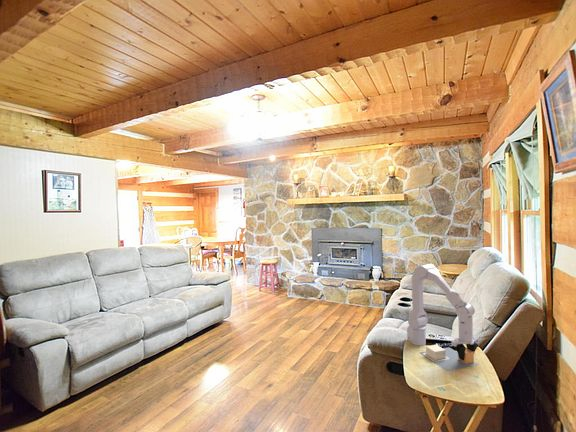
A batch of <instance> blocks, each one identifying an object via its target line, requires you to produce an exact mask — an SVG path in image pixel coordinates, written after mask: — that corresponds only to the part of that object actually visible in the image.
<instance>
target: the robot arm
mask: <svg viewBox="0 0 576 432" xmlns="http://www.w3.org/2000/svg"><path fill="white" fill-rule="evenodd" d="M413 270H414V271H413V273H412V276H411V297H412V299H411V300H412V302H411V304H412V307H411V308H412V310H411V311H410V313H409V318H408V319H407V322H408V324H407V325H408V327H407V329H406V337H407V338H406V340H408V341H409V342H410V343H411V344H413V345H414V346H420V347H422V346H423V347H424V346H426V344H427V343H426V341H427V340H426V339H427V338H426V337H427V336H426V329H427V325H428V324H429V319H428V316H427V312H426V311H425V310H424V284H423V283H424V280H427V281H433V282H434V283H435V285H437V286H438V288H440V289H441V290H442V291H443V292H444V294H445V298H446V300H447V301H448V302H449V304H450V305H451V306H453V308H454V309H455V314H456V316H457V317H458V318H457V319H458V337H457V338H455V339H452V340H451V343H450V344H451V346H453V347H455V351H456V352H458V356H459V359H461V360H464V354H465V350H466V348H467V349H469V350H471V351H473V352H474V353H475V352H476V350H477V349H478V347H479V344H478V343H480V341H481V339H480V337H478V336H476V335H475V336H473V335H474V334H473V333H474V332H473V331H474V330H473V329H474V328H473V326H474V324H473V323H474V322H473V315H474V314H475V307H474V306H473V305H472V304H471V303H468V302H467V301H466V300H465V299H464V298H463V297H462V296H461V294H460V292H458V291H457V290H454V289H452V288H451V287H450V285H449V284H448V283H447V281H446V280H445V279H444V277H443V275H441V273H440V271H439V269H438V268H437V266H435V265H434V264H433V263H427V264H423V265H418V266H416V267H415V268H414V269H413ZM476 342H477V343H476ZM464 345H466V347H465V346H464Z"/></svg>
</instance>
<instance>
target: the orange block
mask: <svg viewBox="0 0 576 432" xmlns="http://www.w3.org/2000/svg"><path fill="white" fill-rule="evenodd" d="M458 360H460V361H462V362H463V363H465V364H469V363H473V362H475V352H473V351H471V350H469V349H467V347H466V350H465V354H464V360H461V359H459V356H458Z"/></svg>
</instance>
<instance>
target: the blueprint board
mask: <svg viewBox="0 0 576 432" xmlns="http://www.w3.org/2000/svg"><path fill="white" fill-rule="evenodd" d="M443 349H445V355H446V358H444V359H439V360H434V359H433V358H431V357H430V356H428V355H426V351H421V352H420V351H419V354H420V355H421V356H423V357H425V358H426V359H428V360H429V361H431V362H432V363H434V364H435V365H437V366H438V367H439V368H440V369H442V370H444V371H446V372H451V371H455V370H460V369H465V368H470V367H475V366H479V365H480V364H479V363H477V362H476V361H474V362H473V363H469V364H465V363H463V362H462V361H460V360H458V352H457V350H456V349H455V350H454V349H453V348H451V347H449V346H448V347H443Z"/></svg>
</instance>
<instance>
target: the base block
mask: <svg viewBox="0 0 576 432" xmlns="http://www.w3.org/2000/svg"><path fill="white" fill-rule="evenodd" d="M425 346H426V347H425V352H426V355H428V356H430V357H431V358H433V359H434V360H439V359H444V358H446V355H445V349H443V348H444V347H443V348H442V347H441V346H440V345H438V344H431V345H425Z"/></svg>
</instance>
